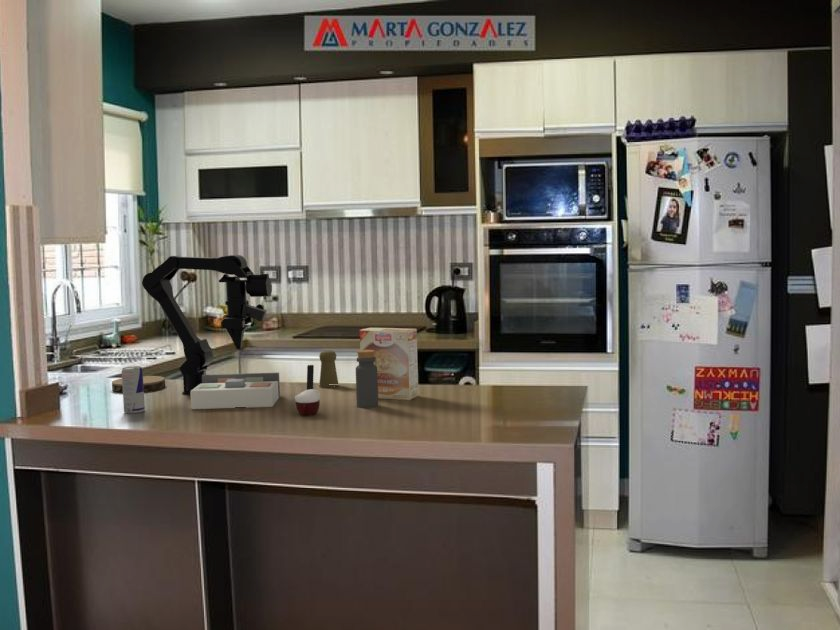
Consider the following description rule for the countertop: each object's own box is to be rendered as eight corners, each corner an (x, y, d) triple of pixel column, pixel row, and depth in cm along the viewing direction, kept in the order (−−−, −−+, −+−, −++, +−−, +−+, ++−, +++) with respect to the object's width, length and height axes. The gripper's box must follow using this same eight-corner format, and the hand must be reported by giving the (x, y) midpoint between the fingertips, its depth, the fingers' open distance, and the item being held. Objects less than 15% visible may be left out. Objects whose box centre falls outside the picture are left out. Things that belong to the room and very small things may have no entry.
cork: (340, 384, 260) (339, 349, 259) (336, 387, 254) (335, 351, 253) (321, 384, 261) (320, 349, 260) (317, 387, 255) (315, 352, 254)
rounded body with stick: (308, 419, 212) (307, 373, 210) (288, 417, 214) (286, 371, 213) (329, 410, 220) (327, 366, 218) (309, 408, 223) (308, 364, 221)
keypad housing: (191, 409, 227) (189, 383, 226) (203, 398, 242) (202, 374, 241) (272, 406, 227) (271, 381, 227) (280, 396, 242) (279, 372, 242)
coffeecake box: (360, 398, 237) (358, 329, 235) (371, 393, 243) (369, 327, 242) (409, 400, 231) (407, 330, 229) (419, 395, 238) (417, 327, 236)
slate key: (225, 396, 230) (225, 381, 230) (229, 393, 235) (228, 379, 235) (242, 395, 231) (241, 381, 230) (245, 392, 235) (244, 378, 235)
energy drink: (149, 410, 227) (146, 366, 226) (136, 414, 222) (133, 369, 221) (132, 409, 229) (130, 366, 228) (119, 413, 224) (117, 369, 223)
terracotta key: (251, 400, 231) (250, 385, 230) (254, 397, 235) (253, 382, 235) (268, 399, 231) (267, 385, 231) (270, 396, 235) (269, 382, 235)
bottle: (382, 404, 227) (380, 349, 225) (372, 408, 221) (370, 352, 220) (363, 403, 229) (361, 349, 228) (352, 407, 224) (350, 351, 222)
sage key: (200, 401, 230) (199, 387, 230) (204, 398, 235) (203, 384, 235) (217, 401, 231) (216, 386, 230) (220, 398, 235) (220, 384, 235)
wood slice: (162, 392, 256) (162, 382, 256) (108, 395, 253) (107, 385, 252) (167, 383, 271) (167, 374, 271) (116, 386, 268) (115, 377, 268)
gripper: (258, 298, 239) (260, 352, 241) (268, 294, 258) (270, 344, 259) (219, 299, 239) (222, 353, 240) (232, 295, 258) (234, 345, 259)
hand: (238, 349), depth 250 cm, fingers closed
